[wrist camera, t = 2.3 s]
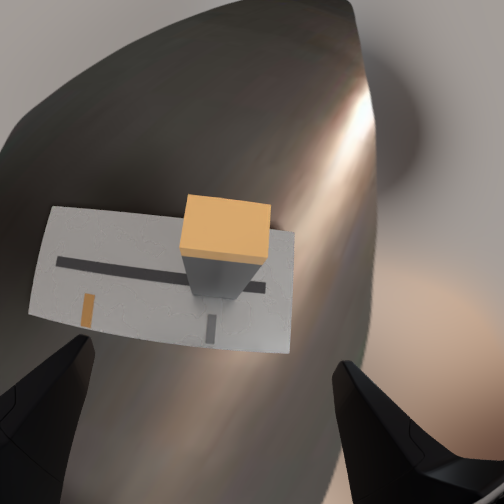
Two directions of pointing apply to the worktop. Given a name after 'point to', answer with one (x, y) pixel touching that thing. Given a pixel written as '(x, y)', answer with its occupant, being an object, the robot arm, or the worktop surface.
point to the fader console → (155, 284)
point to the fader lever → (223, 244)
